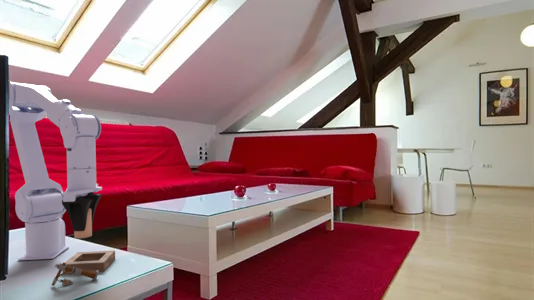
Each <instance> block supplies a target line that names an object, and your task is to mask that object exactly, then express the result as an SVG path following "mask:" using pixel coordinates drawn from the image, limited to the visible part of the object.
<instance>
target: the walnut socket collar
mask: <svg viewBox="0 0 534 300" xmlns="http://www.w3.org/2000/svg"><path fill="white" fill-rule="evenodd" d="M115 259H116V250H97V251H96V250H95V251H77V252H76V253H75V254H74V255H72V257H70V258H69V259H67V260H66V261H65V262H64V263H66V264H65V265H67V266H68V267H72V268H73V267H75V268H78V269H82V270H83V271H90V272H96V270H98V271H99V273H101V272H105V271H106V270H107V268H108V267H109V266H110V265H111V264H112V263H113V262H114V261H115ZM64 272H65V270H64V271H63V270H62V271H61V274H62V273H64ZM64 274H72V273H71V272H66V273H64ZM64 274H63V275H64Z"/></svg>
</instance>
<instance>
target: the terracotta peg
mask: <svg viewBox="0 0 534 300" xmlns="http://www.w3.org/2000/svg"><path fill="white" fill-rule="evenodd" d="M73 232H74V233H73V235H74V237H73V238H74V239H86V238H89V237H92V236H93V223H92V214H91V208H89V210H88V214H87V222H86V228H85V230H84V231H74V230H73Z"/></svg>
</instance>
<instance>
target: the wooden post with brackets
mask: <svg viewBox="0 0 534 300" xmlns="http://www.w3.org/2000/svg"><path fill="white" fill-rule="evenodd" d="M65 264H66V263H65V262H62V263H60V262H59V264H58V263H56V264H55V265H54V267H55V268H56V270H58V272H57V273H56V276H55V277H54V278H53V280H52V283H51V286H53V287H55V286H56V283H57V282H58V283H61V284H62V286H63V285H66V286H70V285H73V283H74V282H73V281H71V279H67V278H66V277H64V278H61V279H60V277H61V276H63V275H64V273H66V272H71V273H70V274H73V275H76V276H77V275H78V276H84V277H86V278H90V279H92V282H96V280H97V279H98V275H99V273H100V272H99V271H98V270H96V272H90V271H83V270H82V269H78V268H75V267H73V268H72V267H68V266H67V265H65ZM62 270H63V271H64V270H65V272H64V273H62Z"/></svg>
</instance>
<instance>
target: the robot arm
mask: <svg viewBox="0 0 534 300" xmlns="http://www.w3.org/2000/svg"><path fill="white" fill-rule="evenodd" d="M45 114H46V116H47V118H48V120H49V121H50V122H52V123H53V124H54V125H56V127H58V128H59V130H60V131H59V132H60V134H61V136H62V140H63V146H64V148H66V174H67V175H66V178H67V180H66V182H67V185H66V186H67V188H66V190H65V191H64V190H63V187H62V185H61V184H60V183H58V182H56V181H54V180H52V179H51V178H49V177H50V176H49V173H48V170H47V166H46V162H45V157H44V155H43V150H42V147H41V143H40V139H39V135H38V131H37V128H36V122H38V121H41V120H43V118H44V116H45ZM9 121H10V122H9V123H10V126H11V129H12V134H13V138H14V142H15V147H16V150H17V154H18V158H19V162H20V166H21V170H22V174H23V178H24V182H25V183H24V184H23V185H22V186H21V187H20V188H19V189H17V191H15V194H14V199H15V213H16V216H17V218H18V219H19V220H20V221H22V222H24V226H25V227H24V231H25V254H23V255H21V256H19V257H18V258H17V261H32V260H33V261H34V260H36V261H37V260H52V259H55V258H56V257H57V256H58V255H61V254H62V253H63V252H65V251H66V250H67V249H68V248H70V245H66V224H65V221H64V220H63V219H62V218H63V215H64V214H65V213H66V212H67V215H68V218H69V219H70V222H71V223H70V224H71V226H72V229H73V232H74V231H84V230H85V228H86V222H87V214H88V210H89V208H91V214H92V224H93V223H94V218H95V213H96V210H97V207H98V204H99V201H100V200H101V198H102V194H101V193H98V192H99V191H102V190H103V186H99V183H97V157H96V156H97V154H96V151H97V149H96V145H97V144H96V142H97V141H96V140H98V139H99V137H100V135H101V132H102V125H101V121H100V119H99V118H98V117H97V116H96V114H85V113H84V112H83V111H82V110H81V109H80V108H77V107H75V105H73V104H72V102H71V101H70V100H69V99H60V100H58V99H57V98H56V97H55V96H54V95H53V94H52V90H51V88H50V87H48V86H46V85H36V84H31V83H22V82H21V83H20V82H15V81H10V120H9Z"/></svg>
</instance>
